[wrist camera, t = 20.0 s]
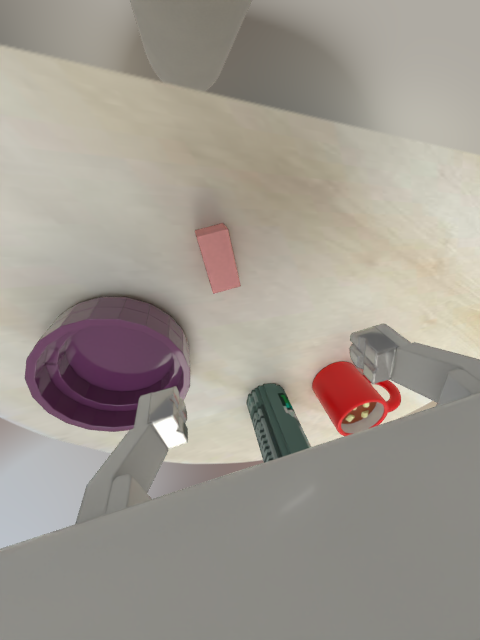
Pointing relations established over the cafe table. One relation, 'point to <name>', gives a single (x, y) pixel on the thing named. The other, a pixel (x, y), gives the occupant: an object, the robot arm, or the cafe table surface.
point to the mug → (352, 398)
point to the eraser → (218, 257)
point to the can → (275, 422)
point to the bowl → (107, 362)
